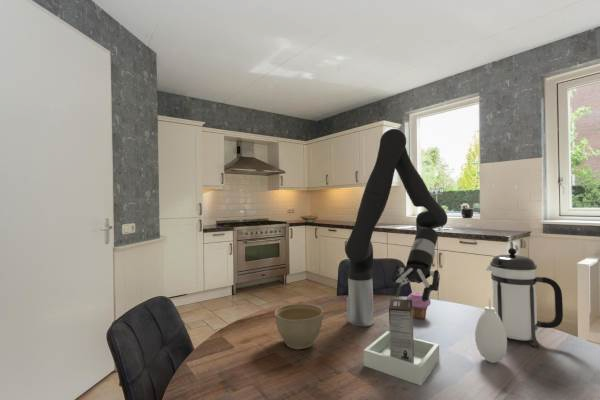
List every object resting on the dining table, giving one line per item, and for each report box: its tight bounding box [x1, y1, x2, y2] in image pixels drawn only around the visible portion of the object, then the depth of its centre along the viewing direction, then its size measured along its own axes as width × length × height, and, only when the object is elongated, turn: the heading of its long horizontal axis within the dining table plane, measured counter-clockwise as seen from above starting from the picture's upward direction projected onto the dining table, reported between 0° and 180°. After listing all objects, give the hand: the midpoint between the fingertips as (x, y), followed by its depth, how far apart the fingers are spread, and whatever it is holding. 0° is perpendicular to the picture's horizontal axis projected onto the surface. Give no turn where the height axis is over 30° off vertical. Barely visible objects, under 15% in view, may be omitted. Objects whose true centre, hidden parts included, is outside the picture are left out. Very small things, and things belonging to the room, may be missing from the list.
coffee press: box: [485, 247, 564, 348], centre depth 103 cm, size 17×16×30 cm
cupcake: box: [406, 291, 431, 320], centre depth 124 cm, size 9×9×10 cm
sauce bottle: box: [474, 298, 508, 364], centre depth 89 cm, size 8×8×18 cm
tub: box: [363, 330, 440, 386], centre depth 90 cm, size 16×16×4 cm
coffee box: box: [388, 298, 414, 364], centre depth 90 cm, size 9×6×16 cm
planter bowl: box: [274, 303, 324, 350], centre depth 104 cm, size 16×16×11 cm
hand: (409, 297), depth 96 cm, fingers open, 8 cm apart
